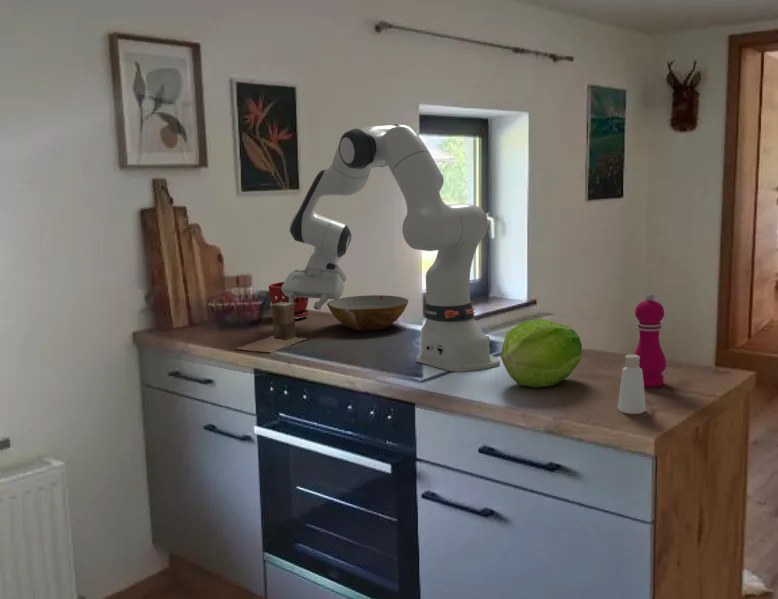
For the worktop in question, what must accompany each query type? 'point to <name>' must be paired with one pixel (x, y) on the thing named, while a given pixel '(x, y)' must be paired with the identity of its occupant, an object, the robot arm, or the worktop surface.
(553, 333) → the lettuce
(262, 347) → the worktop surface
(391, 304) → the bowl
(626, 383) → the pepper shaker
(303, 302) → the plant pot
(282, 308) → the block
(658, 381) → the pepper mill
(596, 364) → the worktop surface
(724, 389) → the worktop surface
